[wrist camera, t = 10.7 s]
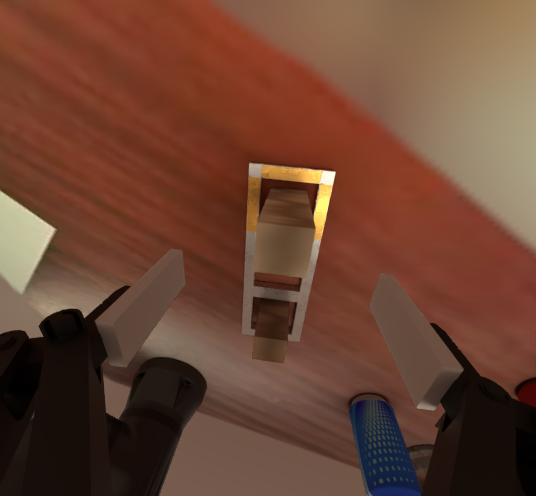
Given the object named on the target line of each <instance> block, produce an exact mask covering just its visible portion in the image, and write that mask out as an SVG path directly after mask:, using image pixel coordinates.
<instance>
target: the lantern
mask: <svg viewBox="0 0 536 496" xmlns="http://www.w3.org/2000/svg"><path fill="white" fill-rule="evenodd" d="M433 448H434V445H416V446H412V447H409V448H407V450H408V453H409V456H410V458H411V461H412V464H413V467H414V470H415V472H416V475H417V478H418V481H419V483H420V486H421V489H422V490H423V486H424V482H425V478H426V475H427V471H428V467H429V463H430V460H431V456H432V452H433Z"/></svg>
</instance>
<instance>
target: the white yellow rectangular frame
mask: <svg viewBox="0 0 536 496" xmlns="http://www.w3.org/2000/svg"><path fill="white" fill-rule="evenodd" d="M334 177H335V171H334V170H327V169H318V168H308V167H298V166H288V165H279V164H269V163H259V162H250V163H249V179H248V202H247V224H246V247H245V270H244V293H243V315H242V334H246V335H253V336H254V334H255V329H256V324H257V323H253V322H252V316H253V302H254V297H261V298H268V299H276V300H283V301H291V302H296V307H295V313H294V318H293V324H292V328H290V327H288V341H296V342H299V341H300V336H301V332H302V327H303V322H304V318H305V313H306V308H307V304H308V299H309V294H310V290H311V285H312V280H313V275H314V271H315V266H316V261H317V257H318V252H319V247H320V243H321V238H322V233H323V229H324V224H325V219H326V214H327V210H328V205H329V200H330V196H331V191H332V186H333V182H334ZM262 178H269V179H278V180H288V181H297V182H306V183H316V184H318V188H317V193H316V199H315V204H314V209H313V219H314V223H315V227H316V232H315V237H314V242H313V247H312V252H311V257H310V262H309V267H308V272H307V277H306V278H301V280H300V286H295V285H287V284H279V283H271V282H264V281H256V280H255V274H256V272H254V260H255V245H256V230H257V221H258V219H259V216H260V204H261V190H262Z"/></svg>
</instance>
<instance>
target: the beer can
mask: <svg viewBox="0 0 536 496" xmlns="http://www.w3.org/2000/svg"><path fill="white" fill-rule="evenodd" d="M349 414H350V419H351V424H352V429H353V434H354V439H355V444H356V449H357V454H358V459H359V464H360V468H361V473H362V478H363V483H364V488H365V493H366V496H421V493H422V489H421V486H420V483H419V481H418V478H417V475H416V472H415V470H414V467H413V464H412V461H411V458H410V456H409V453H408V450H407V447H406V445H405V442H404V439H403V436H402V434H401V431H400V428H399V425H398V422H397V420H396V417H395V414H394V411H393V409H392V407H391V405H390V404H389V403H387V402H386V401H385V400H384V399H383V398H382V397H380V396H377V395H372V394H367V395H361V396H358V397H356V398H355V399H354V400H353V401H352V403H351V406H350V408H349Z"/></svg>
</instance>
